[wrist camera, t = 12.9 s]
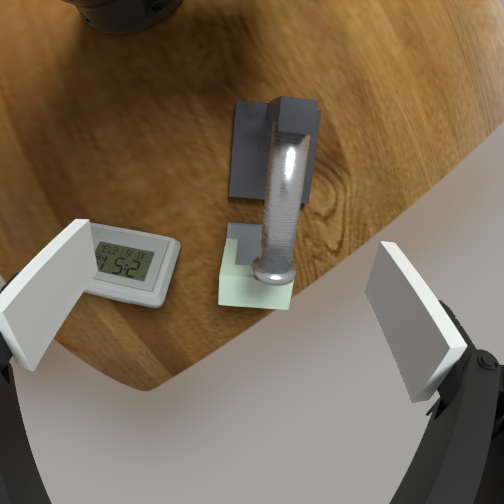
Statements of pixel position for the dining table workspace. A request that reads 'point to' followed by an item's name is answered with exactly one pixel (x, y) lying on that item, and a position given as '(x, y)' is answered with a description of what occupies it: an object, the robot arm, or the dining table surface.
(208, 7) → the dining table surface
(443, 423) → the robot arm
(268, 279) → the stand
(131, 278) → the digital clock
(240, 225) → the coaster
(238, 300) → the bracket
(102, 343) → the dining table surface
